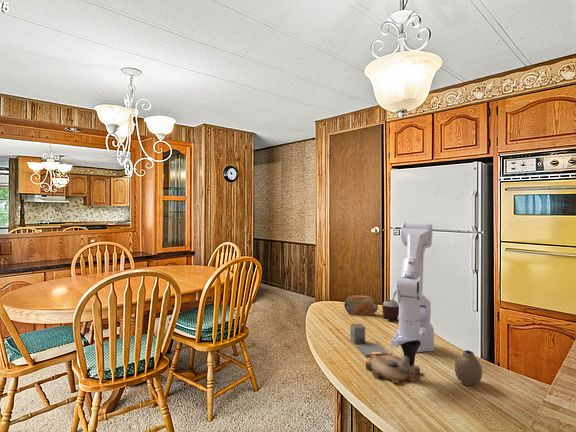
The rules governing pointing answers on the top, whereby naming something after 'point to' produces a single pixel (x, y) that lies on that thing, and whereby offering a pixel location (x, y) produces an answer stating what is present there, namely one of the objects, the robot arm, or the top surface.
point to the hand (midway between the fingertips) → (409, 364)
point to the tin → (361, 305)
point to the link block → (357, 334)
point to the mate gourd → (390, 309)
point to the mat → (372, 350)
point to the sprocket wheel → (392, 368)
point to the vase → (468, 369)
